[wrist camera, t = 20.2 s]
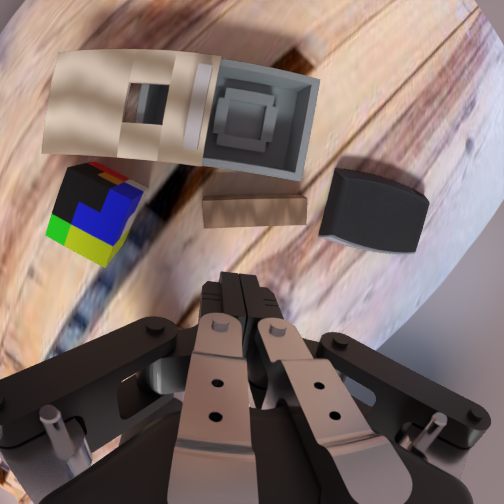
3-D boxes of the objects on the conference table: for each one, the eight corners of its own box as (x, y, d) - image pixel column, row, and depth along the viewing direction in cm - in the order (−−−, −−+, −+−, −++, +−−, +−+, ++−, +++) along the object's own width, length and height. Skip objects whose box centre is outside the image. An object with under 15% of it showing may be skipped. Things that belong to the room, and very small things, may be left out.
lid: (201, 165, 37) (200, 168, 34) (44, 153, 33) (32, 154, 30) (221, 58, 32) (222, 50, 29) (61, 53, 29) (50, 48, 25)
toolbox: (287, 175, 47) (301, 181, 39) (143, 154, 43) (129, 157, 35) (303, 88, 42) (320, 79, 35) (159, 66, 38) (148, 52, 31)
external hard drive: (404, 256, 55) (416, 264, 51) (315, 239, 51) (323, 247, 48) (423, 191, 51) (437, 195, 47) (334, 163, 47) (344, 165, 43)
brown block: (306, 224, 46) (203, 228, 44) (299, 218, 50) (204, 221, 48) (307, 198, 44) (202, 200, 43) (299, 193, 48) (203, 196, 47)
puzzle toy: (148, 188, 45) (132, 200, 36) (123, 243, 47) (105, 267, 38) (94, 161, 42) (67, 167, 33) (73, 217, 45) (45, 235, 35)
